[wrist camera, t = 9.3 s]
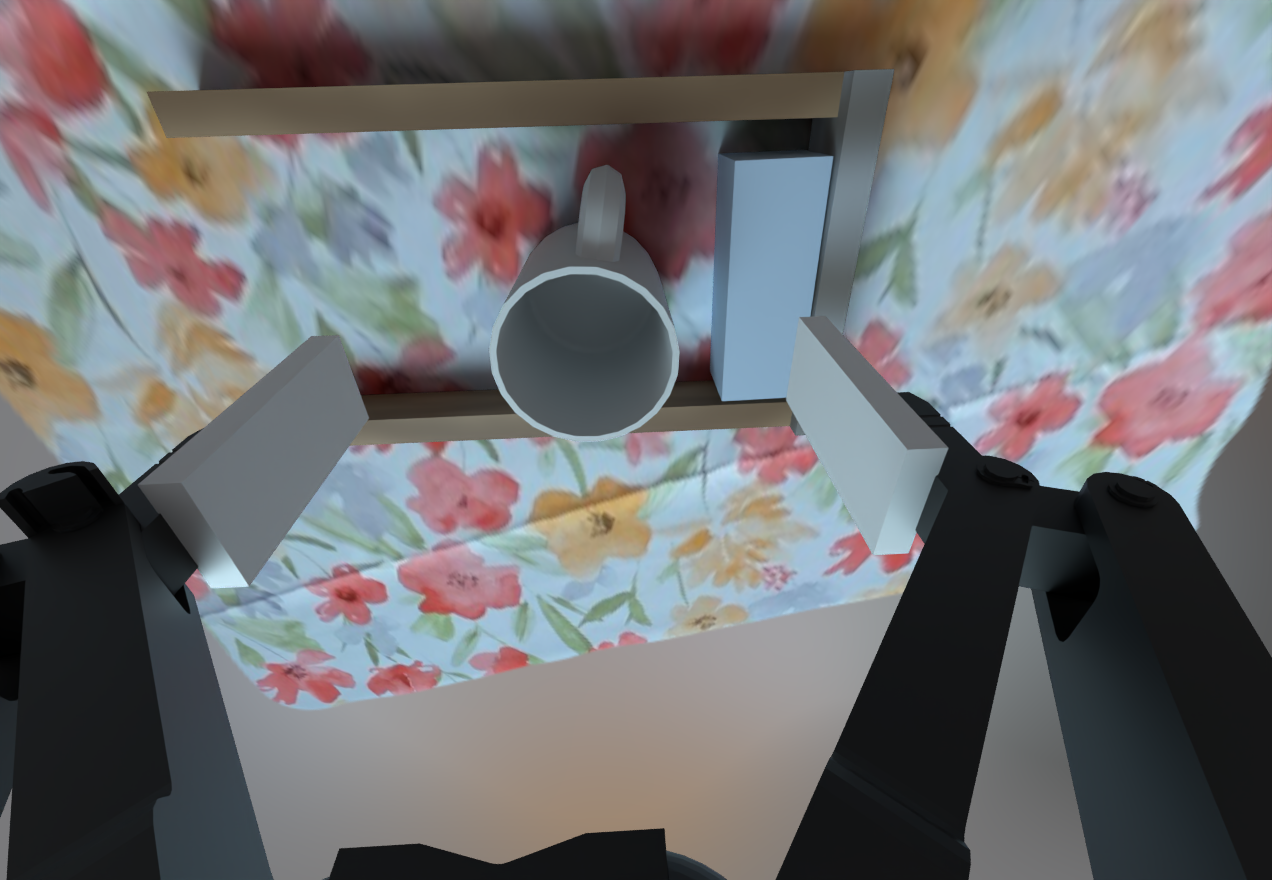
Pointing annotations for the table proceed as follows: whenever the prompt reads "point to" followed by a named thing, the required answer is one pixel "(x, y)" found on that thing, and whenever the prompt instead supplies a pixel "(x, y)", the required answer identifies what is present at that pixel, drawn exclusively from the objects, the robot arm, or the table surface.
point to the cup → (587, 327)
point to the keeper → (764, 266)
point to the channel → (833, 99)
